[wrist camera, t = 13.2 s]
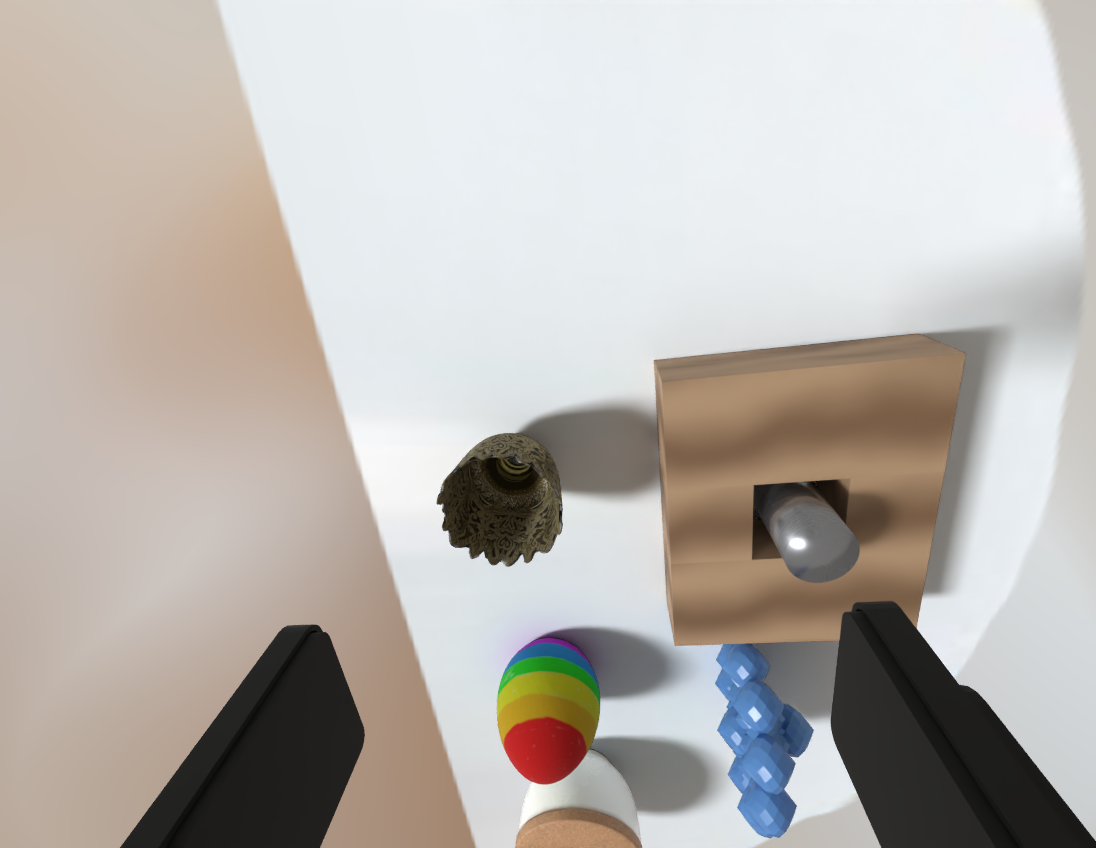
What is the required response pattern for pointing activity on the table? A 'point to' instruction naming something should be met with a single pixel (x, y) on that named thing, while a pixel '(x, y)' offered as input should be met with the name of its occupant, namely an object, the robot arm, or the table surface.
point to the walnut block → (800, 479)
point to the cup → (503, 500)
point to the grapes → (759, 739)
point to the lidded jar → (581, 810)
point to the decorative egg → (548, 709)
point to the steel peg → (806, 531)
